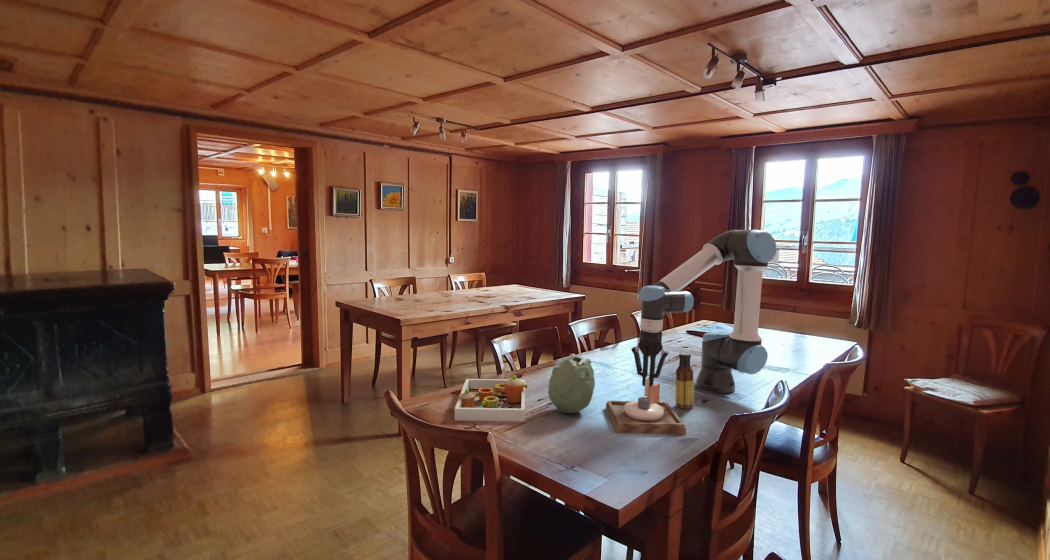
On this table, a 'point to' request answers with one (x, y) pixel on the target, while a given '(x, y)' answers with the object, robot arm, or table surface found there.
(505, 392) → the toy tea set
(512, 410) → the tea tray rim
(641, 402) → the dial
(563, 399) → the green monster figurine
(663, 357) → the robot arm
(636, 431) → the brown wooden tray
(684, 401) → the sauce bottle
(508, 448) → the table surface
